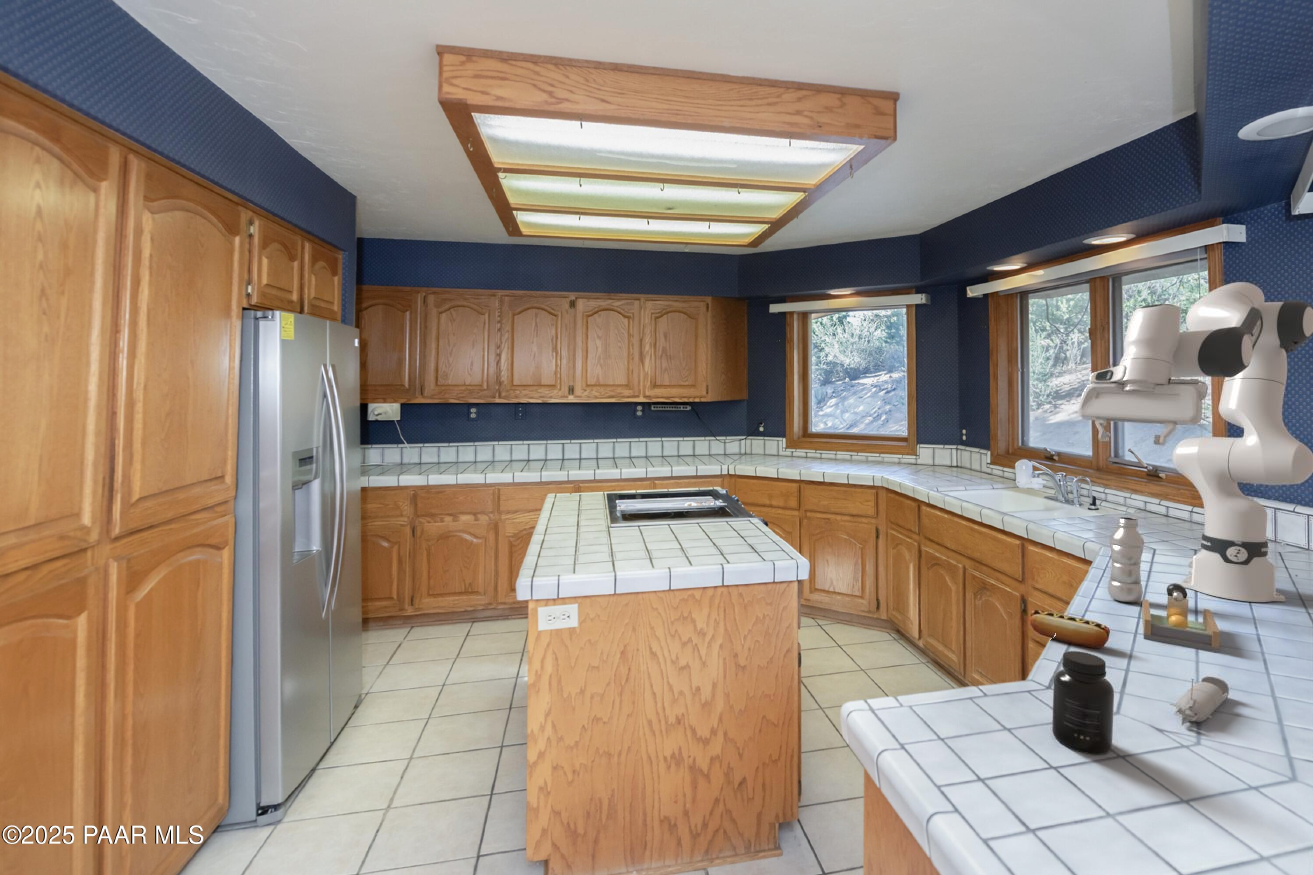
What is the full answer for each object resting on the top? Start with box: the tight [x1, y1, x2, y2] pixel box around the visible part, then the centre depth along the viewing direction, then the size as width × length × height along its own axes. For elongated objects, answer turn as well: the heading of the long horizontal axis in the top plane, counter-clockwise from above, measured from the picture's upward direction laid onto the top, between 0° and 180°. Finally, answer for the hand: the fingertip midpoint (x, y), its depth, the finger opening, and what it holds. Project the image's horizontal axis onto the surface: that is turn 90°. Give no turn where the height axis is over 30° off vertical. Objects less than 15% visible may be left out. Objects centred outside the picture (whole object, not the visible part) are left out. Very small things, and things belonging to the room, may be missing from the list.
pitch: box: [1141, 598, 1221, 654], centre depth 123 cm, size 16×11×4 cm
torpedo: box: [1169, 675, 1230, 726], centre depth 91 cm, size 18×5×6 cm, turn 125°
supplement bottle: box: [1051, 650, 1115, 755], centre depth 83 cm, size 7×7×12 cm
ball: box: [1169, 615, 1188, 629], centre depth 122 cm, size 3×3×3 cm
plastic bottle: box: [1107, 516, 1145, 603], centre depth 142 cm, size 6×7×20 cm
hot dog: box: [1029, 609, 1111, 649], centre depth 118 cm, size 5×13×5 cm, turn 43°
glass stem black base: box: [1166, 582, 1190, 622], centre depth 126 cm, size 6×3×7 cm, turn 142°
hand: (1130, 442), depth 123 cm, fingers open, 8 cm apart
